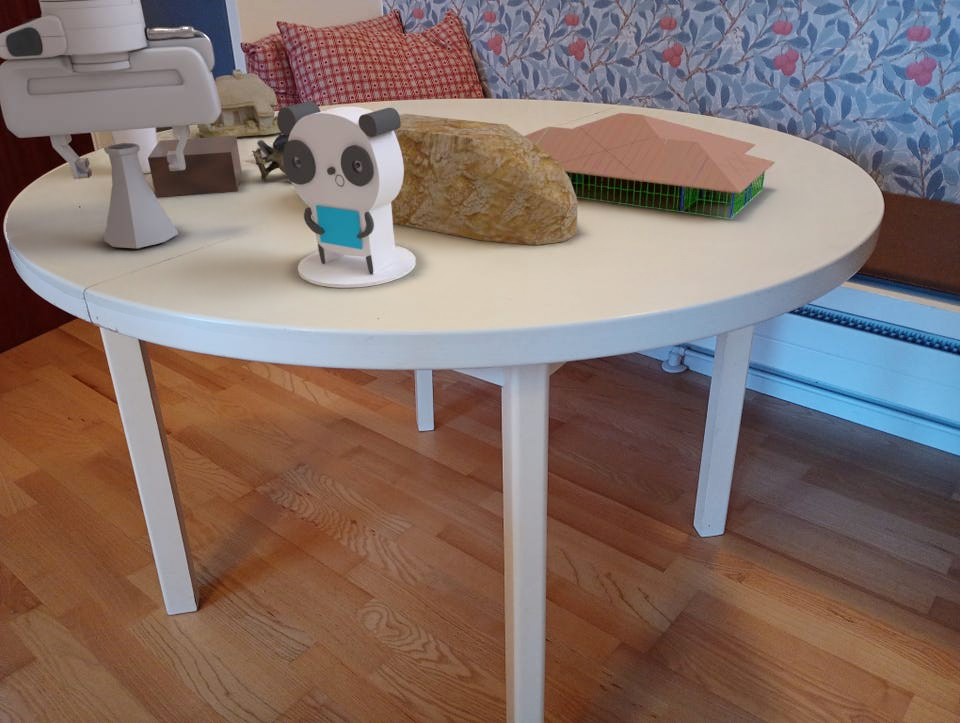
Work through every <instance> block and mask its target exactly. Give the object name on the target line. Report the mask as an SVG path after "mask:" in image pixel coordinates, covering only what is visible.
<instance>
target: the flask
mask: <svg viewBox="0 0 960 723" xmlns="http://www.w3.org/2000/svg"><path fill="white" fill-rule="evenodd" d="M103 150H104V152H105V154H107V155H108V157H109V163H110V167H111V191H110V200H109V208H108V212H107V213H108V214H107V218H106V226H105V231H104V238H103V241H104V242H106V243H107V245H110V246H111V247H112V248H121V249H124V248H125V249H141V248H144V247H150V246H155V245H157V244H162V243H165V242H167V241H168V240H171V239H173V238H174V237H175V236H178V235H179V234H180V233H179V230H177V228H176V226H175V224H174V223H173V221H172V220H171V219H170V217H169V216H168V214H167V213H166V212H167V211H165V209H164V207H163V206H162V204H161V203H160V201H159V200H158V197H156V195H155V192H154V190H152V188H151V186H150V184H149V183H148V181H147V179H146V178H147V177H146V176H145V174H144V173H143V171H142V168H141V166H140V162H139V158H138V151H139V145H137V144H135V143H121V144H115V145H114V144H111V145H108V146H105V147H103Z"/></svg>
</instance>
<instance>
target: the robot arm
mask: <svg viewBox="0 0 960 723" xmlns="http://www.w3.org/2000/svg"><path fill="white" fill-rule="evenodd" d="M38 3H39V6H40V11H41V14H40V17H38V18H35V17H33V18H31V19H27V20H26V21H23V22H22V24H20V25H18V26H15V27H13V28H10V29H8V30H6V31H3V32H1V33H0V58H1V59H3V60H5V61H4V62H2V63H1V64H0V108H1V113H2V118H3V120H4V123H5V126H6V128H7V130H8V131H10V132H11V133H12V134H13V135H14V136H15V137H17V138H20V139H24V138H37V137H49V138H50V142H51V146H52V148H53V149H54V150H55V151H56V152H57V153H58V154H59V155H60V156H61V157H62V159H64V161H65V162H66V163H68V164H69V168H70V171H71V175H72V178H73V179H74V180H81V179H90V178H91V177H92V174H93V173H92V168H91V167H90V160H89V157H80V156H79V155H78V153H76V152H75V151H74V149H73V148H72V147H71V146H70V144H69V143H71V142H72V136H71V135H79V134H88V133H89V134H91V133H105V132H110V131H119V130H132V129H146V128H156V129H158V128H170V127H171V129H172V134H173V137H174V138H178V139H179V142H178V145H177V148H176V150H175V151H168V153H167V155H166V156H167V161H168V162H169V163H170V164H169V170H170V171H178V170H185V168H186V164H185V159H184V154H183V151H184V148H185V146H186V143H187V140H188V139H189V137H190V134H191V128H190V126H197V125H199V124H211V123H214V122H215V121H216V120H217V118H218V117H219V116H220V114H221V104H220V99H219V95H218V91H217V87H216V84H215V78H214V75H213V70H214V69H215V65H216V57H215V52H214V47H213V46H214V45H213V43H212V41H211V39H210V38H209V37H208V35H206V34H205V33H204V32H202V31H200V30H197V29H195V28H194V26H189V25H182V26H179V27H163V26H161V27H147V26H146V22H145V17H144V12H143V8H142V2H141V0H38ZM196 35H197V36H199V37H196Z"/></svg>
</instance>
